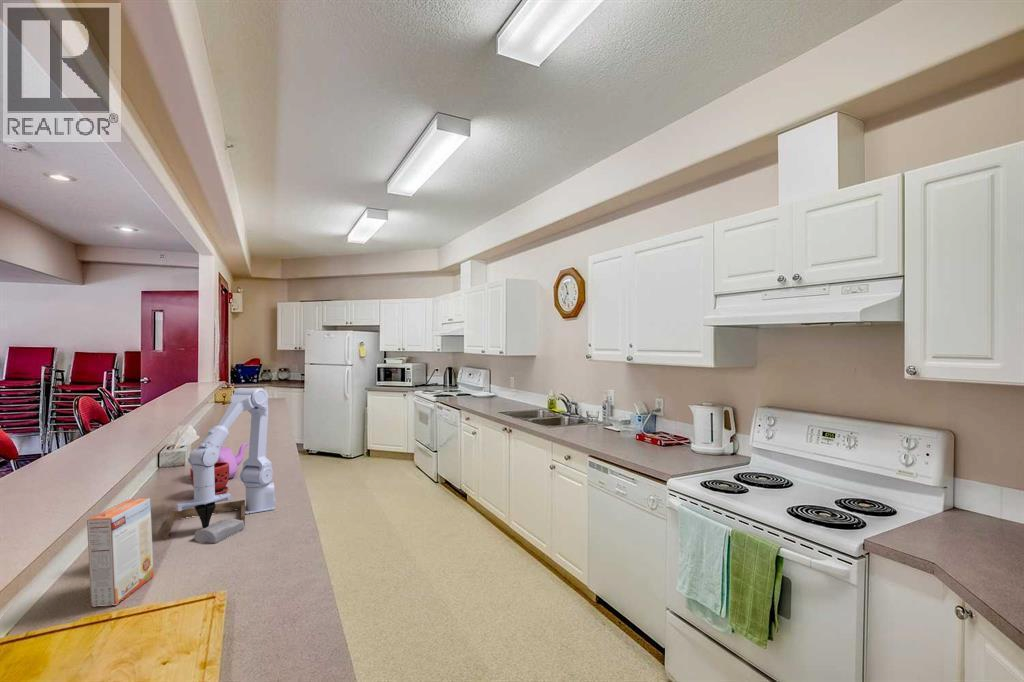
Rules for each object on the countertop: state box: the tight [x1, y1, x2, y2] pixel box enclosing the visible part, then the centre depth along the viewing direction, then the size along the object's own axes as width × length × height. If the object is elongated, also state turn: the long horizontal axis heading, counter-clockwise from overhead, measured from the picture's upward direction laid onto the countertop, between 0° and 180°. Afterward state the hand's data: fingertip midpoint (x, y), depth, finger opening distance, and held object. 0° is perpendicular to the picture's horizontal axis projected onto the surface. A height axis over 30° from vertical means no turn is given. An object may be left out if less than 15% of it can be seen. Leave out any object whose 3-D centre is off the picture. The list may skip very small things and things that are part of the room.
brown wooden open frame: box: [162, 499, 246, 540], centre depth 165 cm, size 22×19×3 cm
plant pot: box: [189, 462, 230, 495], centre depth 193 cm, size 13×13×12 cm
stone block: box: [193, 518, 245, 544], centre depth 154 cm, size 12×5×10 cm
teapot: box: [217, 441, 250, 479], centre depth 217 cm, size 23×21×15 cm
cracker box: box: [86, 497, 155, 607], centre depth 120 cm, size 14×6×21 cm, turn 5°
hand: (205, 527), depth 157 cm, fingers closed
